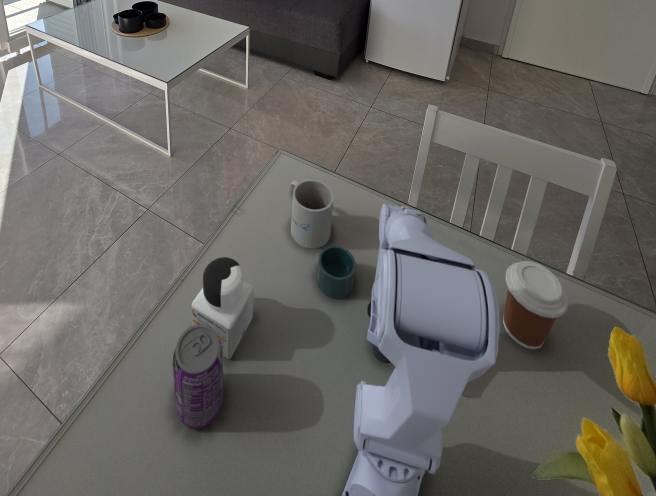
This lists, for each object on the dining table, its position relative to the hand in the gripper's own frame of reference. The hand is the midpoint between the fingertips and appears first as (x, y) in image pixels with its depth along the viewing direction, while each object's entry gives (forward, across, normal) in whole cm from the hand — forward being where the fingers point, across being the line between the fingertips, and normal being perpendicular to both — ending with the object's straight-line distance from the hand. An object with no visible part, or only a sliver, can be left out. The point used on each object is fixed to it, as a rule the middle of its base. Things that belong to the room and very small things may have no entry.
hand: (385, 334), depth 71 cm
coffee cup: (+4, +18, -19) cm, 26 cm away
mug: (+4, +14, +23) cm, 27 cm away
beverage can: (+4, -23, +20) cm, 31 cm away
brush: (+4, 0, 0) cm, 4 cm away
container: (+4, -13, +24) cm, 28 cm away
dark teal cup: (+4, +6, +12) cm, 14 cm away
